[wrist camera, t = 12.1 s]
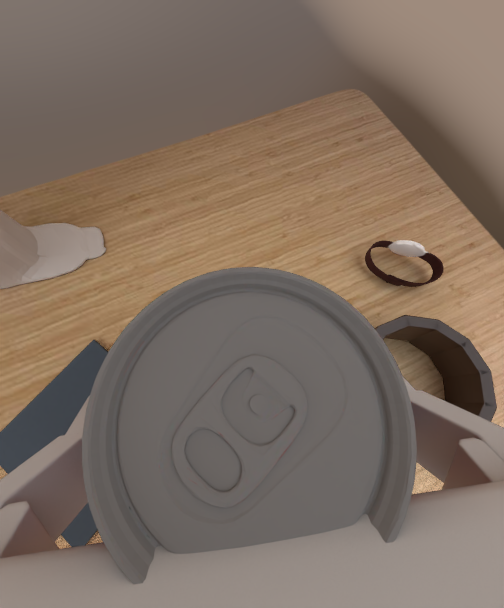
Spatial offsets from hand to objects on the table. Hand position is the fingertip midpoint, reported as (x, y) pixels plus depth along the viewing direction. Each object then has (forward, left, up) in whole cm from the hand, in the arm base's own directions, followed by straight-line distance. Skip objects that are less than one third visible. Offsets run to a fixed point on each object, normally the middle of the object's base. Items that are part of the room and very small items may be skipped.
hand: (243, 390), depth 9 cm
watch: (+21, -5, -18) cm, 28 cm away
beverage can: (0, 0, -7) cm, 7 cm away
